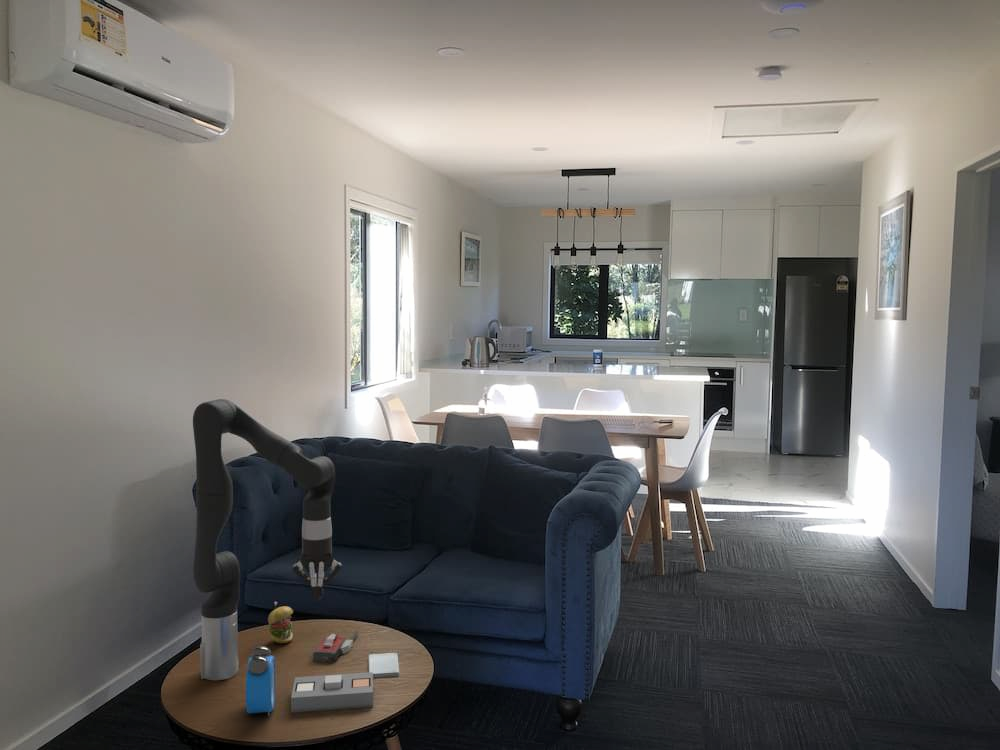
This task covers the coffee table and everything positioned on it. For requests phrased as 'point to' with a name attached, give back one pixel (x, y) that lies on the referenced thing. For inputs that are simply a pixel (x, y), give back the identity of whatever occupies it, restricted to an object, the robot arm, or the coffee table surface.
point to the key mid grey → (333, 682)
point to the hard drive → (384, 665)
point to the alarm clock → (260, 681)
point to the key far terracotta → (361, 683)
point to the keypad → (332, 694)
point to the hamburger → (280, 624)
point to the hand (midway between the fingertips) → (317, 599)
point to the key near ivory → (305, 687)
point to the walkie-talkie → (333, 647)
